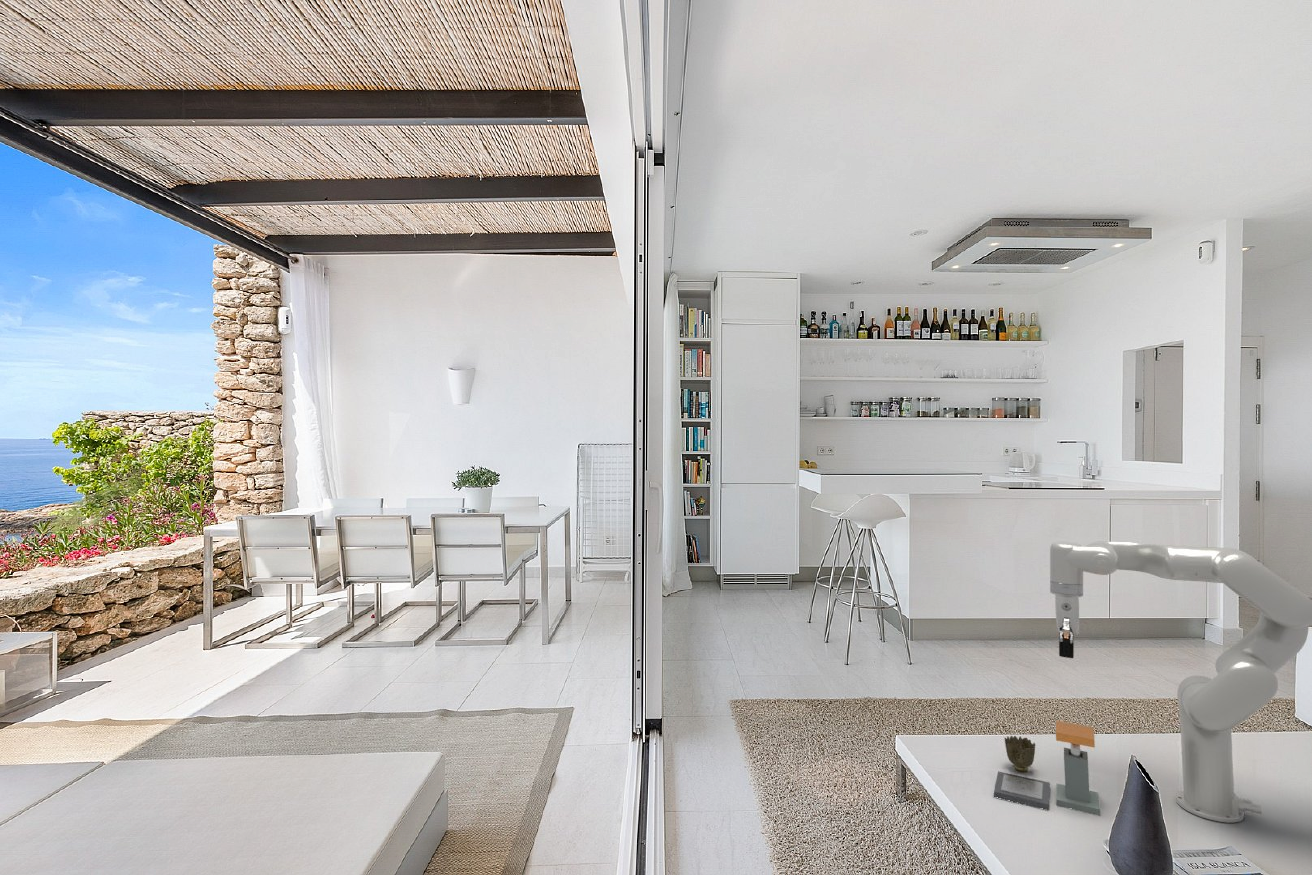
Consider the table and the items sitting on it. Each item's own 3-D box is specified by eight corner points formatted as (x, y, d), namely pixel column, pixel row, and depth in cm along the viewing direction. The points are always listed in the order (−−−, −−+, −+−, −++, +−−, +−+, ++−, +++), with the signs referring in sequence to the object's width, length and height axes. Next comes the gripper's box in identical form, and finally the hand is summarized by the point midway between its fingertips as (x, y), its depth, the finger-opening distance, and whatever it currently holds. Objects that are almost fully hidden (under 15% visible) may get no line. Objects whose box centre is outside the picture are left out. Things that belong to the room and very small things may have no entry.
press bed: (1050, 788, 167) (1049, 781, 167) (1049, 810, 157) (1048, 803, 157) (998, 776, 174) (998, 770, 174) (994, 797, 163) (993, 790, 164)
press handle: (1095, 774, 162) (1093, 726, 162) (1096, 789, 155) (1094, 739, 155) (1058, 767, 166) (1056, 720, 166) (1057, 780, 159) (1055, 732, 160)
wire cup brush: (1042, 776, 173) (1041, 747, 173) (1014, 777, 173) (1013, 747, 173) (1026, 763, 180) (1025, 734, 181) (1000, 763, 181) (999, 735, 181)
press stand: (1098, 798, 162) (1096, 750, 162) (1100, 815, 154) (1098, 765, 155) (1056, 788, 167) (1054, 742, 167) (1056, 805, 159) (1054, 756, 159)
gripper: (1083, 596, 163) (1083, 664, 163) (1082, 584, 177) (1082, 645, 177) (1049, 593, 167) (1049, 658, 167) (1050, 580, 181) (1050, 641, 181)
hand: (1066, 651), depth 172 cm, fingers open, 9 cm apart
